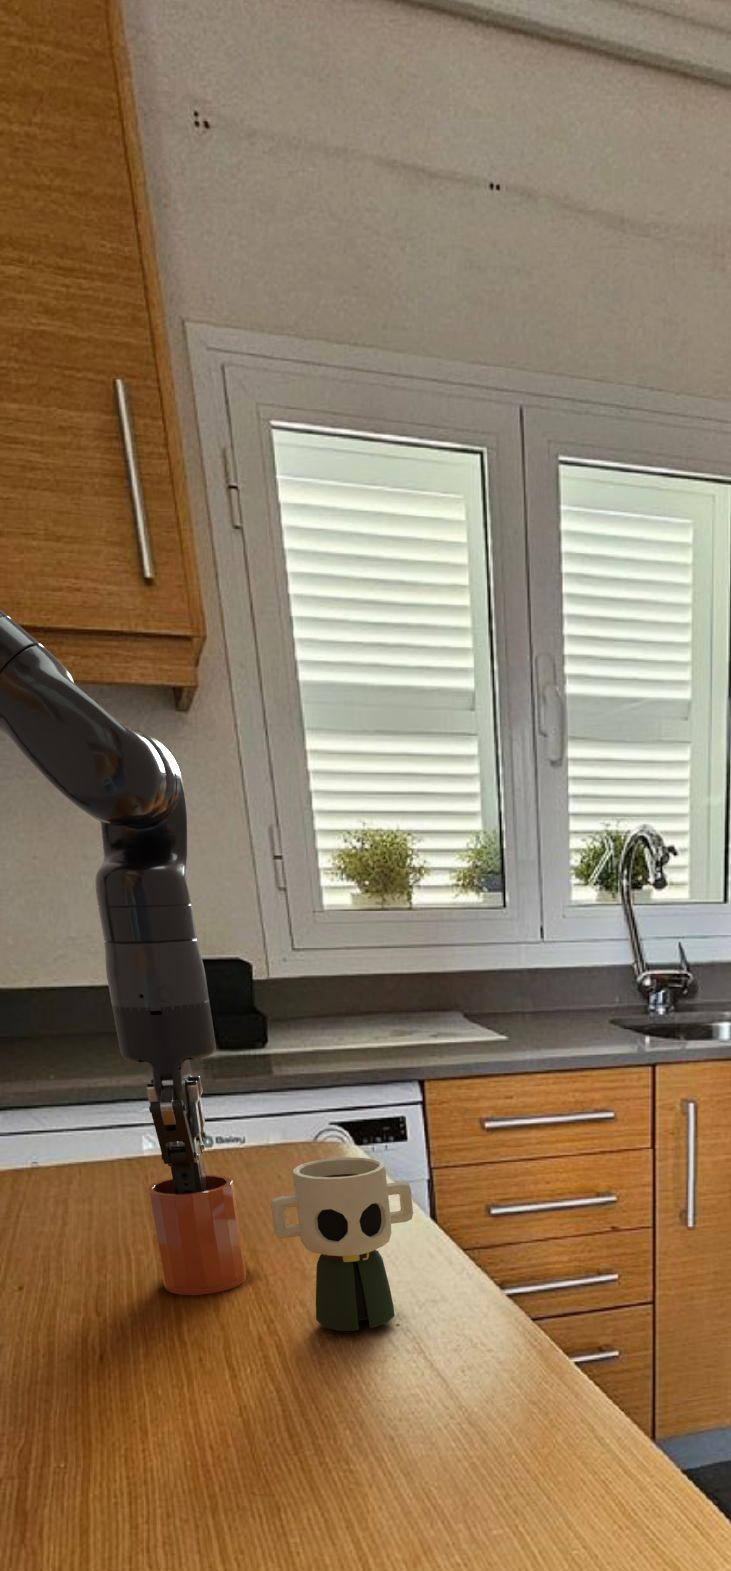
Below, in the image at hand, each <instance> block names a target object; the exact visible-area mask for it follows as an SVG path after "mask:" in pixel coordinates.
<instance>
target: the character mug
mask: <svg viewBox="0 0 731 1571" xmlns="http://www.w3.org/2000/svg"><path fill="white" fill-rule="evenodd" d="M292 1172H293V1173H292V1178H293V1179H292V1180H293V1187H294V1194H290V1195H289V1194H288V1195H279V1196H276V1197H274V1198H272V1199H271V1204H270V1210H271V1216H272V1224H273V1231H274V1233H275V1235H276V1238H280V1239H289V1238H296V1237H300V1242H302V1244H303V1246H304V1248H305V1249H306V1250H308V1251H309V1252H311V1253H314V1254H319V1257H318V1260H317V1262H316V1272H315V1273H316V1274H315V1319H316V1321H317V1322H318V1323H319V1324H320V1325H321V1327H323V1328H325V1329H329V1330H333V1331H337V1332H340V1331H343V1332H344V1331H346V1332H348V1331H351V1332H353V1331H355V1332H356V1331H359V1330H360V1329H359V1326H360V1325H359V1321H363V1320H368V1324H369V1328H370V1329H371V1328H376V1327H379V1326H382V1325H385V1324H387V1323H389V1322H390V1321H391V1320H392V1319H393V1318H394V1317H395V1307H394V1302H393V1296H392V1293H391V1287H390V1283H389V1279H388V1274H387V1271H386V1267H385V1263H384V1258H383V1256H382V1255H381V1253H380V1252H379V1251H378V1249H380V1248H383V1247H384V1246H385V1245H387V1244H388V1243H390V1239H391V1236H392V1225H393V1224H400V1223H401V1224H402V1223H407V1222H409V1221H411V1220H413V1216H414V1209H413V1208H414V1207H413V1196H412V1188H411V1186H410V1183H409V1182H407V1181H397V1182H388V1180H387V1171H386V1166H385V1162H383V1161H381V1160H379V1159H376V1158H369V1157H358V1156H357V1157H355V1156H353V1157H351V1156H345V1157H329V1158H324V1159H318V1160H317V1159H316V1160H313V1161H309V1162H305V1163H302V1164H299V1165H298V1166H296V1167H294V1168H293V1171H292ZM387 1182H388V1183H387ZM395 1195H399V1205H400V1206H399V1207H400V1210H397V1211H391V1209H390V1199H389V1196H395ZM290 1208H291V1209H292V1208H296V1211H297V1220H298V1223H297V1224H296V1223H295V1224H290V1225H288V1224H287V1218H286V1209H290Z"/></svg>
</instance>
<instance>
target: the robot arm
mask: <svg viewBox="0 0 731 1571" xmlns="http://www.w3.org/2000/svg"><path fill="white" fill-rule="evenodd" d="M0 733H1V734H2V735H3V736H5V737H6V738H8V740H10V741H11V742H12V743H13V744H14V745H15V746H16V747H17V748H18V750H19V751H20V752H21V753H22V755H24V757H25V758H26V759H27V760H28V761H29V762H30V763H31V764H32V765H33V766H34V767H35V768H36V769H37V770H38V771H39V772H40V773H41V775H43V776H44V778H45V779H46V780H47V781H49V783H50V784H51V785H52V786H54V787H55V789H57V790H58V791H59V793H61V794H62V795H63V796H64V797H65V798H66V799H68V800H69V801H70V802H71V803H72V804H73V805H74V806H76V807H77V808H79V809H80V810H81V811H83V812H84V813H85V814H87V815H88V816H90V817H91V818H94V819H95V820H97V821H99V822H100V825H101V826H100V827H101V828H100V829H101V837H102V838H101V839H102V848H103V850H102V851H103V863H102V864H101V866H100V867H99V868H98V870H97V871H96V874H95V878H94V879H95V880H94V882H95V884H94V885H95V886H94V887H95V896H96V902H97V903H96V904H97V906H98V913H99V920H100V924H101V930H102V936H103V941H104V953H105V954H104V956H105V974H106V979H107V986H108V990H109V996H110V1004H111V1008H112V1014H113V1019H114V1024H115V1031H116V1035H117V1041H118V1046H119V1053H120V1055H121V1057H122V1058H123V1059H124V1060H126V1061H129V1062H134V1063H148V1064H149V1065H151V1068H152V1077H151V1078H150V1082H149V1083H148V1082H147V1083H146V1093H147V1101H148V1103H149V1107H148V1110H149V1113H151V1118H152V1121H153V1125H154V1129H155V1133H156V1137H157V1142H158V1144H159V1150H160V1153H161V1160H162V1161H163V1163H164V1165H167V1167H170V1172H171V1178H173V1184H174V1190H175V1194H185V1193H196V1192H203V1187H202V1181H201V1175H200V1168H199V1160H200V1155H199V1154H198V1149H197V1142H196V1140H199V1142H200V1149H201V1155H202V1161H203V1168H204V1174H205V1181H206V1175H207V1174H206V1168H205V1162H204V1156H203V1154H204V1152H205V1151H204V1150H205V1149H206V1146H205V1143H204V1142H205V1138H206V1131H205V1128H204V1127H205V1121H206V1119H205V1118H206V1117H205V1113H204V1107H203V1101H202V1095H203V1083H202V1078H201V1076H200V1075H193V1071H192V1066H191V1065H192V1064H191V1061H193V1060H199V1059H204V1058H208V1057H209V1056H211V1055H213V1054H215V1052H216V1050H217V1044H216V1043H217V1042H216V1037H215V1030H214V1023H213V1017H212V1010H211V1003H210V997H209V990H208V983H207V982H208V981H207V975H206V970H205V965H204V962H203V958H202V955H201V950H200V947H199V942H198V939H197V930H196V923H195V916H194V910H193V905H192V903H193V902H192V897H191V893H190V888H189V883H188V810H187V809H188V808H187V799H186V792H185V786H184V781H183V778H182V777H183V776H182V774H181V771H180V768H179V765H178V763H177V761H176V759H175V757H174V756H173V754H172V753H171V752H170V750H169V749H168V748H167V747H166V746H165V745H164V744H163V743H162V742H161V741H160V740H159V739H157V738H156V737H154V736H152V735H150V734H149V733H146V732H143V731H141V730H138V729H134V728H131V727H128V726H127V725H125V724H124V723H123V722H122V721H120V720H119V719H117V718H116V717H114V716H113V715H112V714H111V713H110V712H108V711H107V710H106V709H105V708H104V707H102V706H101V705H100V704H99V703H97V702H96V701H95V700H94V699H93V698H92V697H91V696H90V695H88V694H87V693H86V692H85V691H84V690H83V689H82V688H80V686H78V685H77V684H75V682H74V679H73V677H72V674H71V673H70V672H69V670H68V669H67V668H66V667H65V666H64V664H63V663H62V662H61V661H60V660H59V659H58V658H57V657H56V656H55V655H54V654H52V652H51V651H50V650H48V649H47V648H46V647H45V646H43V644H42V643H40V642H39V641H38V640H37V639H36V638H35V637H33V636H32V635H31V634H30V633H29V632H27V631H26V630H25V629H24V628H23V627H22V626H21V625H20V624H18V623H17V622H16V621H15V620H14V619H13V618H12V617H10V615H9V614H8V613H5V612H4V611H3V610H2V609H1V608H0ZM190 1060H191V1061H190ZM179 1141H181V1142H184V1143H185V1147H186V1148H173V1145H172V1142H179ZM206 1187H207V1181H206ZM207 1191H208V1187H207Z"/></svg>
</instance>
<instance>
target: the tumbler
mask: <svg viewBox="0 0 731 1571" xmlns="http://www.w3.org/2000/svg"><path fill="white" fill-rule="evenodd" d="M206 1181H207V1187H208V1191H203V1192H196V1193H185V1194H175V1190H174V1184H173V1178H172V1177H169V1178H166V1179H162V1180H161V1179H160V1180H158V1181H156V1182H153V1183H151V1184H149V1185H148V1186H147V1188H146V1194H147V1199H148V1205H149V1211H150V1218H151V1223H152V1229H153V1234H154V1239H155V1240H154V1241H155V1245H156V1252H157V1257H158V1262H159V1268H160V1274H161V1279H162V1282H163V1286H164V1289H165V1291H167V1292H169V1293H171V1294H175V1295H181V1296H201V1295H211V1294H216V1293H221V1292H225V1291H228V1290H231V1289H234V1288H236V1287H239V1286H240V1285H242V1284H244V1283H245V1281H246V1280H247V1266H246V1260H245V1253H244V1247H243V1239H242V1232H241V1226H240V1218H239V1213H238V1206H237V1199H236V1192H235V1186H234V1180H233V1179H232V1178H230V1177H229V1176H224V1175H219V1174H206Z"/></svg>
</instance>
